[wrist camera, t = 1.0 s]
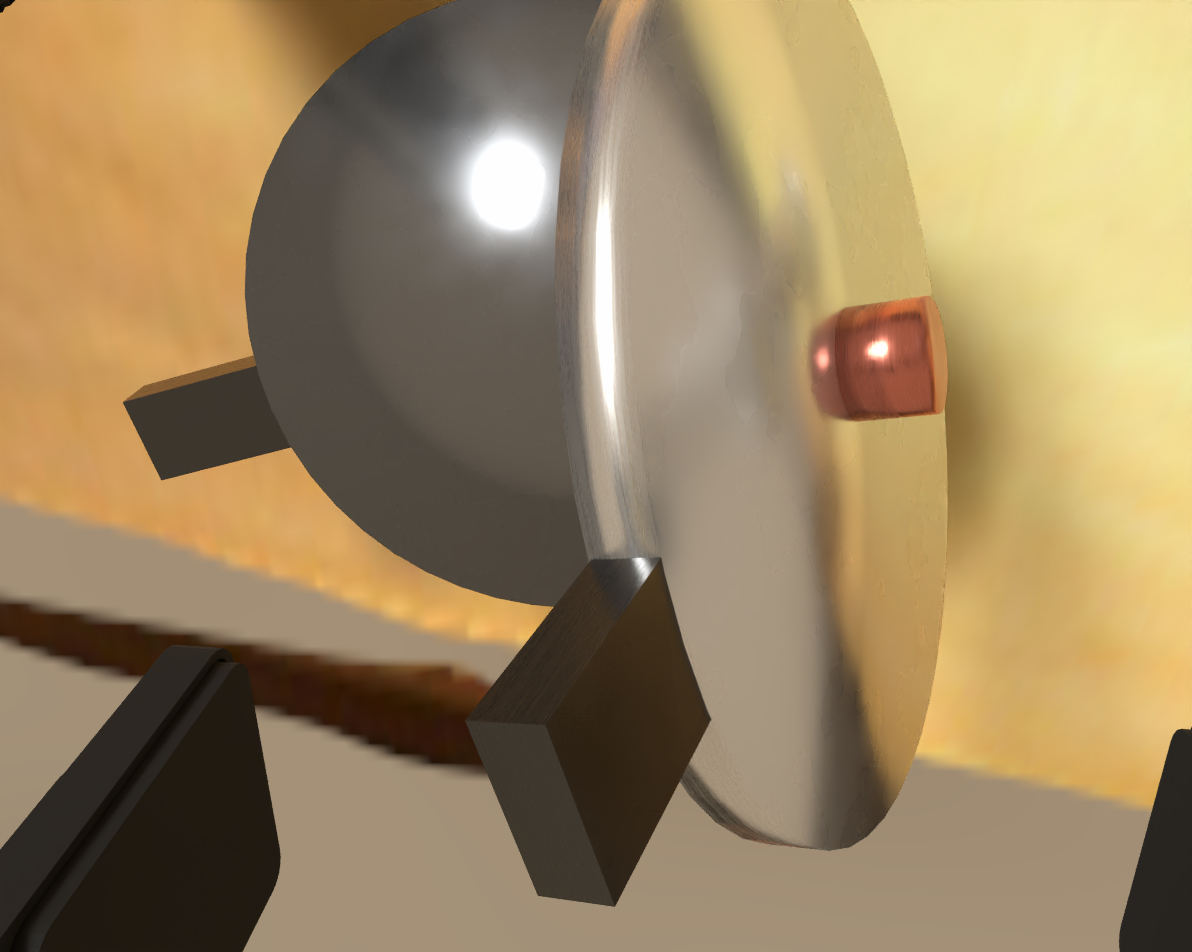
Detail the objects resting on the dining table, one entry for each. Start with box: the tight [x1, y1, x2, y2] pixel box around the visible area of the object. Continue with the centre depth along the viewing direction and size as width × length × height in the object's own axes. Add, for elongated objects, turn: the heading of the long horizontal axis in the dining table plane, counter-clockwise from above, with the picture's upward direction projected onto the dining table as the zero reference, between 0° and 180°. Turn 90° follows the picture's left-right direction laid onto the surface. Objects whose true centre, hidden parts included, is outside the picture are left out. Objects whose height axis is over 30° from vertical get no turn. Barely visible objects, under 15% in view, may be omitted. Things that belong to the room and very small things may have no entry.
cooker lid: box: [465, 0, 948, 907], centre depth 23 cm, size 23×20×3 cm
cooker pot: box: [123, 0, 602, 607], centre depth 40 cm, size 25×20×10 cm
